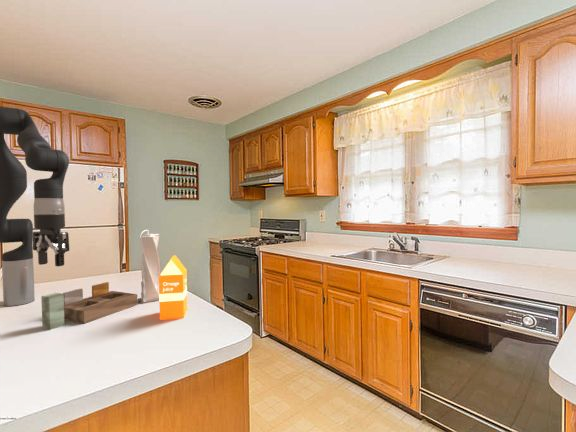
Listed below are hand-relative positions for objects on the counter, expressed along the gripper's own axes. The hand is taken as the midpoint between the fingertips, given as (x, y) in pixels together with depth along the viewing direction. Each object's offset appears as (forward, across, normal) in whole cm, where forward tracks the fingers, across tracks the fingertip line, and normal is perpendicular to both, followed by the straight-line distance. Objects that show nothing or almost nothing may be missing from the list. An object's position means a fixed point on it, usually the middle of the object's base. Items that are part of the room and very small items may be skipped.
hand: (51, 265), depth 93 cm
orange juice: (+20, +28, +22) cm, 41 cm away
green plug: (+19, 0, 0) cm, 19 cm away
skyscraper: (+20, +6, +32) cm, 38 cm away
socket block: (+19, 0, +15) cm, 24 cm away
